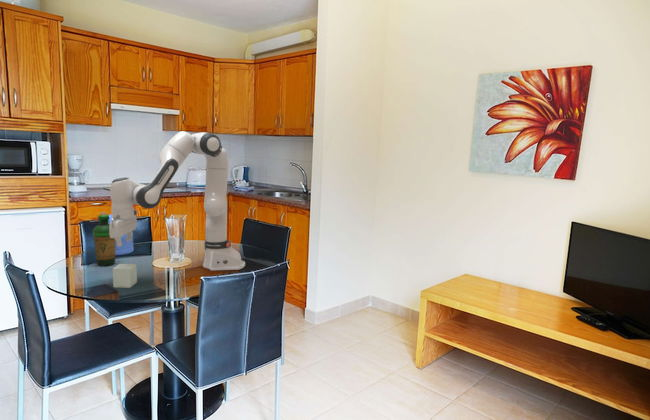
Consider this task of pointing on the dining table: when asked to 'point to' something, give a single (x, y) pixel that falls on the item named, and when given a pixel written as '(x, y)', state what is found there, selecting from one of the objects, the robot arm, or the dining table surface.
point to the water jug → (123, 243)
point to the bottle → (104, 242)
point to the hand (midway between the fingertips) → (124, 243)
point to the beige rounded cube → (124, 275)
